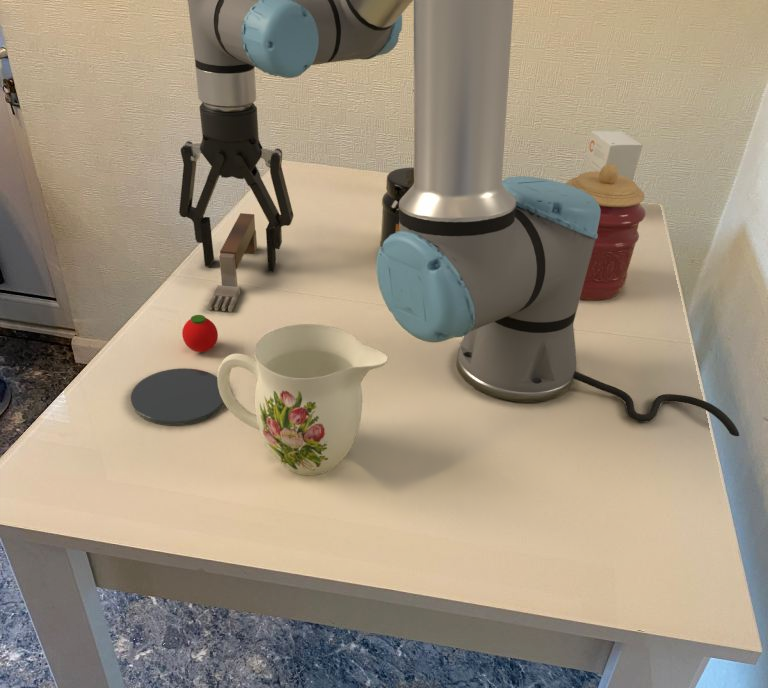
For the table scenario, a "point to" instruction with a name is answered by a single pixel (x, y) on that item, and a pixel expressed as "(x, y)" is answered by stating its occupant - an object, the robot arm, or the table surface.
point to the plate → (177, 397)
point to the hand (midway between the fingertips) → (240, 265)
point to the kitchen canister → (611, 229)
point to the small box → (612, 152)
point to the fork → (234, 261)
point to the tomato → (200, 334)
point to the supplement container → (394, 200)
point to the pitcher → (304, 393)
